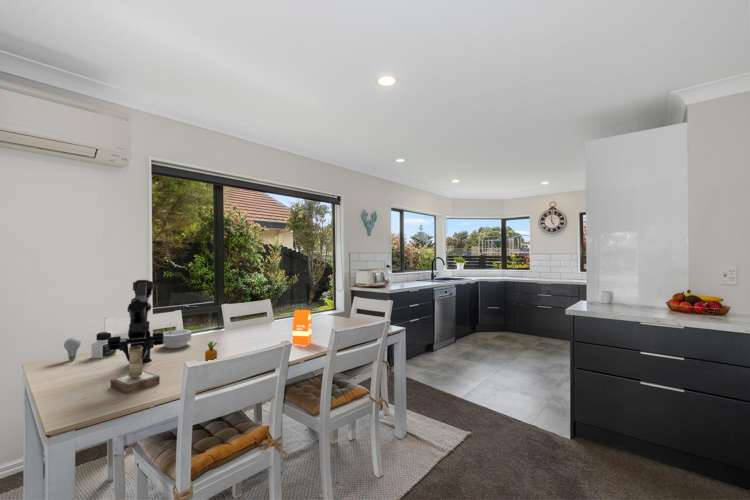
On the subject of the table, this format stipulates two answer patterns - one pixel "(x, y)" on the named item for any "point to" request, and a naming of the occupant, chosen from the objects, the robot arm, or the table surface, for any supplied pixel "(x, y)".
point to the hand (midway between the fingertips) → (135, 359)
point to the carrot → (211, 352)
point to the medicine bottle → (102, 346)
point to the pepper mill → (135, 360)
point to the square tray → (134, 382)
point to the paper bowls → (176, 338)
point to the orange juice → (302, 327)
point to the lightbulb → (72, 347)
